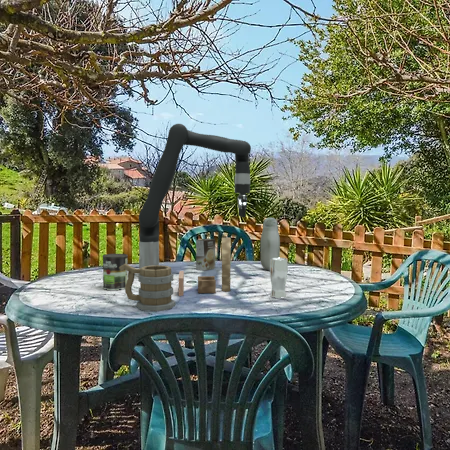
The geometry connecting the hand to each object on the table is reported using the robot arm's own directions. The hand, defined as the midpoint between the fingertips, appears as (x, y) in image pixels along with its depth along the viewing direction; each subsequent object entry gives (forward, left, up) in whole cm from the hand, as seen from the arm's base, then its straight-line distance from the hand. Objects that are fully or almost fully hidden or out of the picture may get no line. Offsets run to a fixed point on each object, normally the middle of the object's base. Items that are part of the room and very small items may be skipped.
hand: (242, 216), depth 206 cm
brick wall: (-29, -32, -29) cm, 52 cm away
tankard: (-41, -54, -30) cm, 74 cm away
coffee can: (-57, -24, -30) cm, 68 cm away
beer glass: (+9, -44, -29) cm, 54 cm away
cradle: (-19, -32, -29) cm, 47 cm away
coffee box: (-17, +20, -30) cm, 39 cm away
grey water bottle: (+17, +15, -29) cm, 37 cm away
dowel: (-10, -32, -29) cm, 45 cm away
